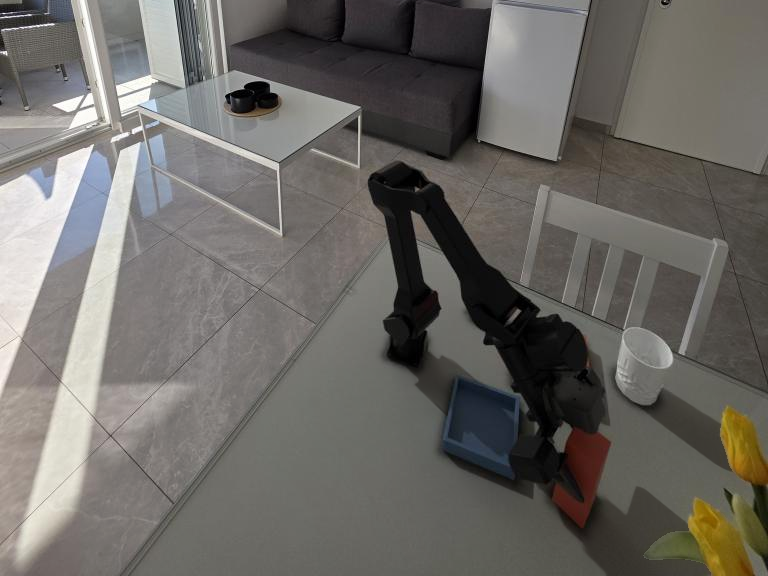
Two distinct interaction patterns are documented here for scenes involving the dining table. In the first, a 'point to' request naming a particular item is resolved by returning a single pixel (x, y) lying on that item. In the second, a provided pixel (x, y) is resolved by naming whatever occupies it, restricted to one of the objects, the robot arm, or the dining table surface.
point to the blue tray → (482, 425)
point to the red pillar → (583, 472)
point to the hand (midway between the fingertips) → (590, 480)
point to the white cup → (642, 365)
